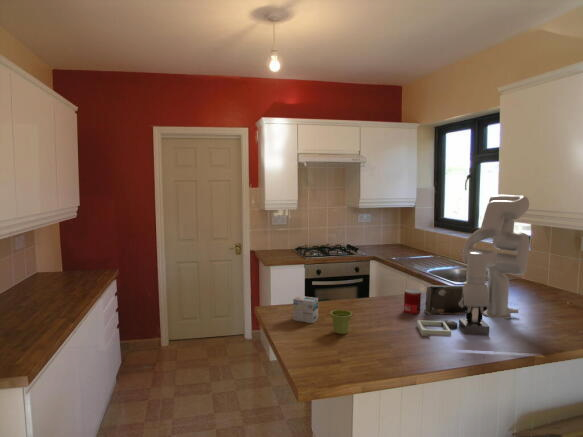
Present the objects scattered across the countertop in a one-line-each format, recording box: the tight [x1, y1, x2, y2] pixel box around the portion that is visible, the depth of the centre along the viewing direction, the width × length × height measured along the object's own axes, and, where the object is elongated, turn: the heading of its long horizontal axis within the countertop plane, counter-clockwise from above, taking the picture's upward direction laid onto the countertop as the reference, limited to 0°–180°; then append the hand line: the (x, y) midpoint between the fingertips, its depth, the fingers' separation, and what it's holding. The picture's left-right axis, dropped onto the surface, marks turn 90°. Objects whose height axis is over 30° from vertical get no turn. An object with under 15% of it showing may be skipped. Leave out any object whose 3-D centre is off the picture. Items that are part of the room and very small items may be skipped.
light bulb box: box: [292, 295, 319, 324], centre depth 192 cm, size 11×7×11 cm, turn 65°
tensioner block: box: [458, 317, 490, 337], centre depth 176 cm, size 10×9×5 cm
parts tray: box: [416, 319, 452, 337], centre depth 178 cm, size 12×12×3 cm
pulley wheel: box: [440, 319, 459, 330], centre depth 182 cm, size 7×7×3 cm
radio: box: [423, 285, 466, 316], centre depth 203 cm, size 23×9×15 cm, turn 97°
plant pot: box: [330, 309, 353, 335], centre depth 177 cm, size 9×9×9 cm
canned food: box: [403, 288, 422, 315], centre depth 204 cm, size 8×8×11 cm
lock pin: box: [469, 306, 479, 325], centre depth 176 cm, size 4×4×11 cm
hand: (473, 320), depth 176 cm, fingers closed on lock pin, 3 cm apart
